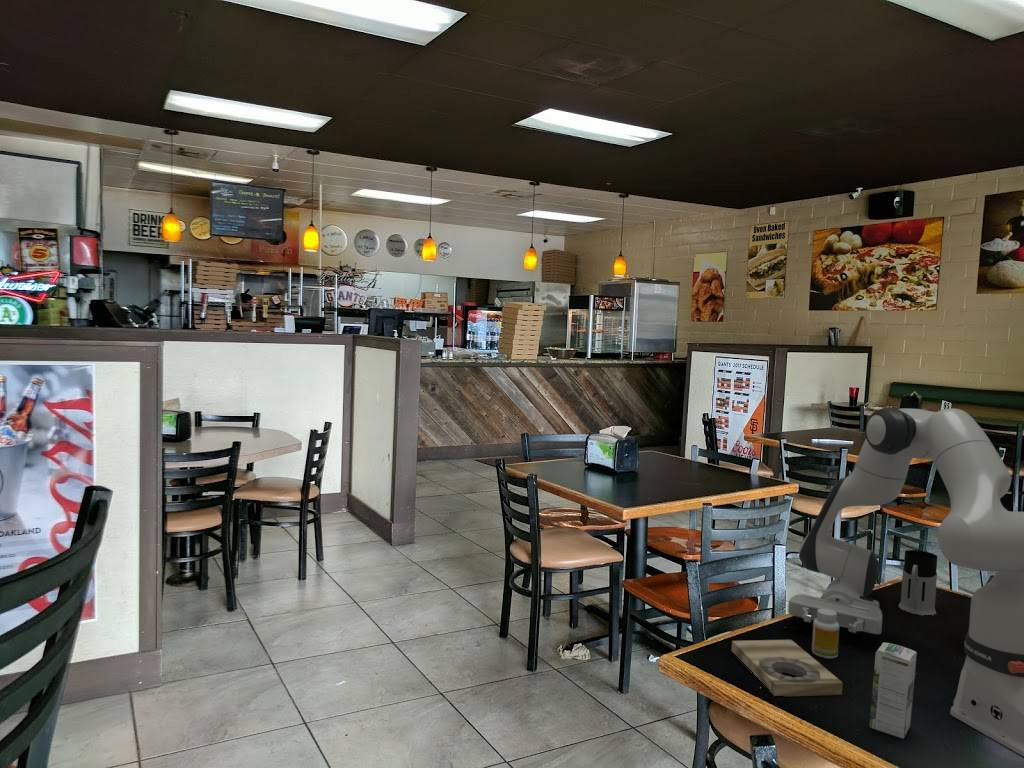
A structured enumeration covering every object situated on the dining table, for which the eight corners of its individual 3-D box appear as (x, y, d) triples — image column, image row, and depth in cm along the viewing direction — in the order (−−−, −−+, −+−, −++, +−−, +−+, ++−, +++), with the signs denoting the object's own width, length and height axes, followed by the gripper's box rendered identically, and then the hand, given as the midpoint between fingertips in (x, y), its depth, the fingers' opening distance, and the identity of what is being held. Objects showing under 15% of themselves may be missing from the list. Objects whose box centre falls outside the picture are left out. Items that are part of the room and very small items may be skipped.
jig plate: (841, 694, 140) (842, 682, 139) (774, 696, 138) (775, 684, 138) (790, 650, 159) (791, 639, 159) (731, 651, 158) (732, 640, 158)
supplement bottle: (842, 659, 156) (844, 616, 155) (817, 658, 156) (820, 615, 155) (831, 649, 161) (833, 607, 160) (807, 648, 161) (810, 606, 160)
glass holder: (938, 609, 188) (942, 554, 187) (929, 624, 177) (933, 566, 176) (902, 600, 194) (905, 547, 193) (890, 615, 183) (894, 558, 182)
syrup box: (876, 715, 132) (881, 640, 131) (911, 727, 128) (917, 649, 127) (868, 728, 128) (873, 650, 127) (905, 740, 124) (911, 660, 123)
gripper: (794, 584, 177) (782, 600, 166) (886, 602, 166) (879, 621, 155) (793, 608, 178) (780, 626, 166) (884, 628, 167) (877, 649, 155)
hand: (829, 623), depth 160 cm, fingers open, 8 cm apart
